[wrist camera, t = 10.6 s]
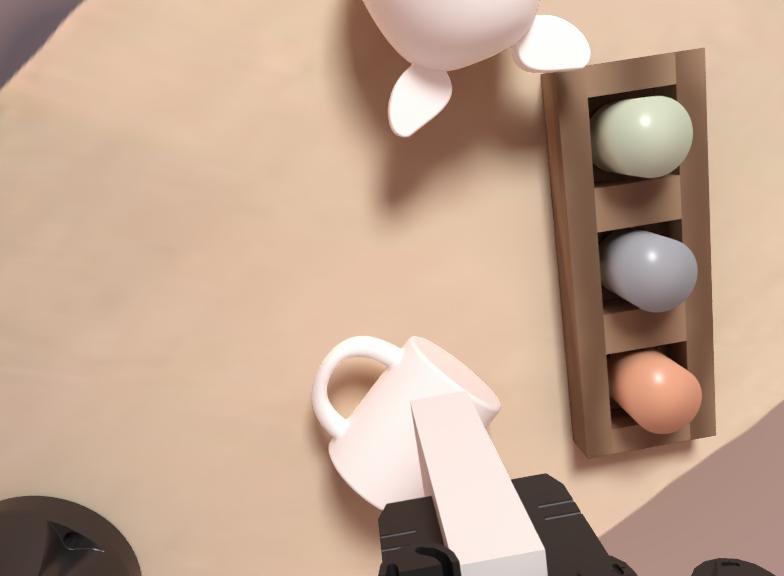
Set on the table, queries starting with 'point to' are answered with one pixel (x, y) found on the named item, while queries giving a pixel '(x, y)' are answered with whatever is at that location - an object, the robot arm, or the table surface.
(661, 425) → the peach rounded piece
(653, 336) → the brown wooden slot rack
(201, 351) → the table surface
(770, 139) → the table surface
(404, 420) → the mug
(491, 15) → the piggy bank
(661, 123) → the sage button
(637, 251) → the slate button
